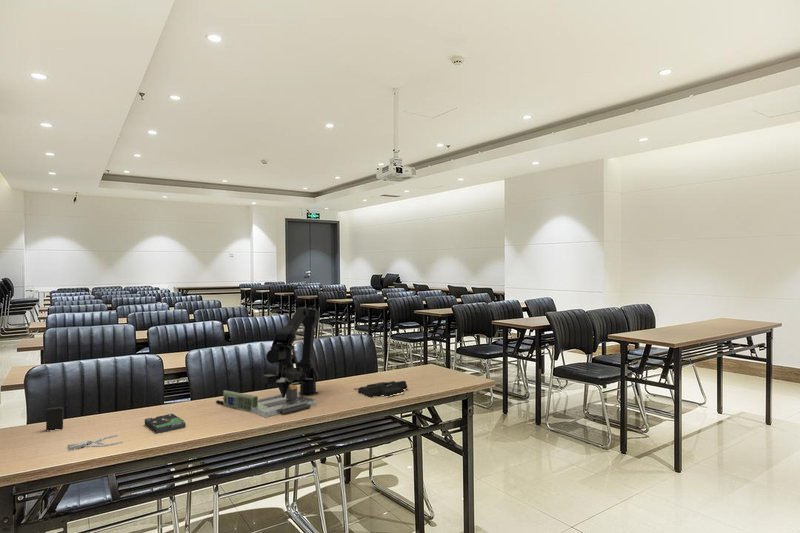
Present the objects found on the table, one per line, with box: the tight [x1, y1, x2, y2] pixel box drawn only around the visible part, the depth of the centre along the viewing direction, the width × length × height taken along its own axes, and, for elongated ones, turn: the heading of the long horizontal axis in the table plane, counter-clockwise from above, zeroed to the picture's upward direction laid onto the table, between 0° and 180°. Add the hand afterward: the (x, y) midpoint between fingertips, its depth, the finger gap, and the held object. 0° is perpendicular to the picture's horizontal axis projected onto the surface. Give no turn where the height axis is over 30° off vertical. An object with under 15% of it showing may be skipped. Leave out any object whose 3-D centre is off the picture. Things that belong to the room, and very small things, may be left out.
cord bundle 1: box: [279, 401, 311, 416], centre depth 199 cm, size 13×4×3 cm, turn 136°
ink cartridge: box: [45, 406, 64, 432], centre depth 180 cm, size 5×2×8 cm, turn 119°
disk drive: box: [144, 413, 186, 435], centre depth 182 cm, size 10×3×15 cm
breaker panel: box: [250, 394, 317, 418], centre depth 205 cm, size 24×16×2 cm, turn 136°
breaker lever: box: [285, 384, 298, 400], centre depth 209 cm, size 3×4×6 cm
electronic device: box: [355, 380, 408, 398], centre depth 233 cm, size 21×30×5 cm
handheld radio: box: [215, 390, 259, 413], centre depth 206 cm, size 7×3×25 cm
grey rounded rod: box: [258, 393, 282, 402], centre depth 212 cm, size 13×4×3 cm, turn 136°
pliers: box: [67, 434, 124, 452], centre depth 164 cm, size 10×2×15 cm
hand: (283, 397), depth 206 cm, fingers closed
